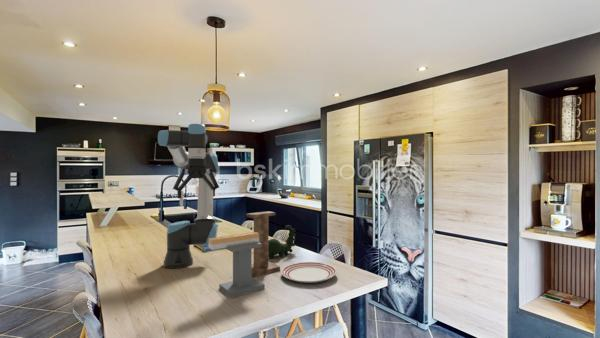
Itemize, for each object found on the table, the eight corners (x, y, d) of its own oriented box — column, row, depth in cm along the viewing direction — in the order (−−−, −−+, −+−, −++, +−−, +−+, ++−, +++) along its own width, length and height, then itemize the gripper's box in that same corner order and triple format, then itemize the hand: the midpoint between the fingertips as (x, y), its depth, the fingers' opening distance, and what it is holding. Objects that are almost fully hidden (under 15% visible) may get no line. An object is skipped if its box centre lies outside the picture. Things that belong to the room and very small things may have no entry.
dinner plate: (296, 291, 134) (296, 283, 134) (272, 272, 159) (272, 266, 159) (347, 281, 147) (347, 274, 147) (318, 264, 171) (318, 258, 171)
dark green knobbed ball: (287, 253, 199) (257, 258, 181) (289, 223, 200) (259, 225, 182) (297, 256, 193) (267, 261, 174) (299, 225, 194) (270, 227, 176)
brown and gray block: (212, 249, 126) (212, 240, 126) (208, 247, 129) (208, 238, 129) (259, 242, 139) (259, 233, 139) (254, 240, 143) (254, 231, 143)
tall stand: (253, 276, 151) (253, 215, 151) (241, 270, 161) (241, 213, 161) (280, 270, 161) (280, 213, 161) (267, 264, 170) (268, 210, 170)
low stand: (231, 297, 127) (231, 249, 127) (219, 288, 136) (219, 243, 136) (264, 288, 137) (264, 243, 137) (251, 280, 146) (251, 238, 146)
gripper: (170, 157, 130) (170, 207, 130) (226, 158, 145) (225, 203, 145) (165, 157, 136) (165, 205, 136) (219, 158, 151) (219, 202, 151)
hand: (196, 204), depth 140 cm, fingers open, 13 cm apart
